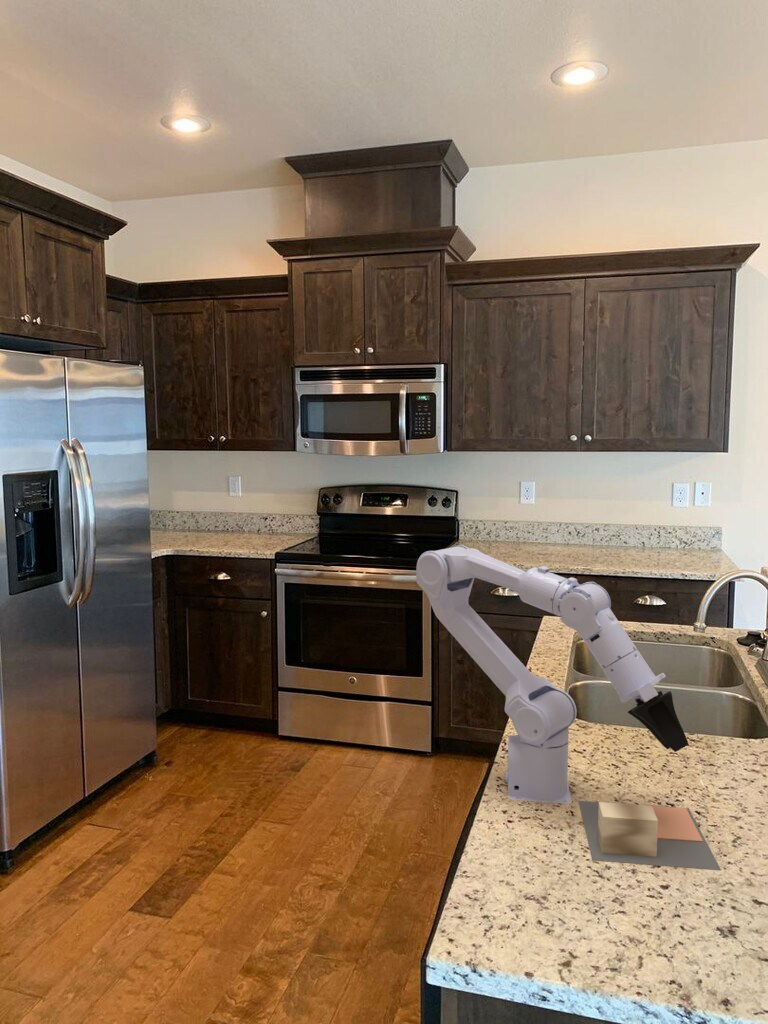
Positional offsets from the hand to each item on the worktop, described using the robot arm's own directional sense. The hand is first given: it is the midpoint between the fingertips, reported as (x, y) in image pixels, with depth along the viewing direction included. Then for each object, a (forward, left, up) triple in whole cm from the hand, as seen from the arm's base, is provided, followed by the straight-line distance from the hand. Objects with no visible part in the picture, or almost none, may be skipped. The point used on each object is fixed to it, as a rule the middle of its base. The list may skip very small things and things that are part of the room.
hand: (677, 747), depth 103 cm
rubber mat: (-4, 0, -13) cm, 14 cm away
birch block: (-7, -4, -13) cm, 15 cm away
